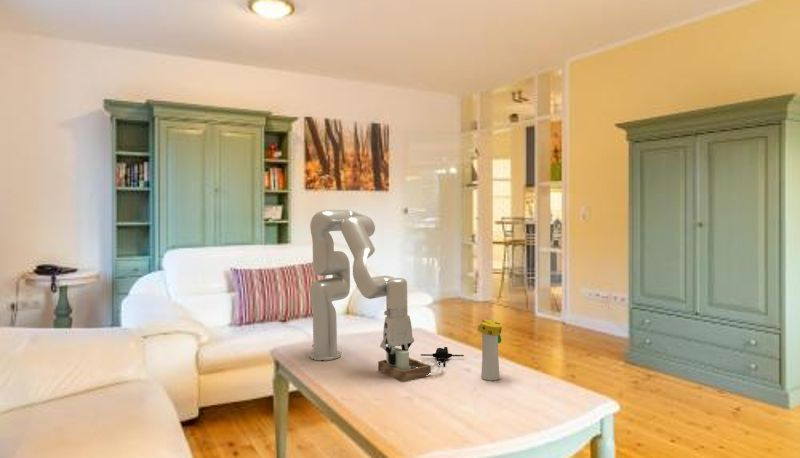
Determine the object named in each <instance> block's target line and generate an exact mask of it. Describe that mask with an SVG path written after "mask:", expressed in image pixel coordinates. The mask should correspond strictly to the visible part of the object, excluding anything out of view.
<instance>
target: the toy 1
mask: <svg viewBox="0 0 800 458" xmlns="http://www.w3.org/2000/svg"><path fill="white" fill-rule="evenodd" d="M420 356H422V357H432V358H434V359H438V363H437V365H438V364H439V365H440V366H441V362H443V363H442V366H443V367H444V368H445V367H446V360H447V359H450V358H452V357H465V354H453V353H449V349H448V347H447V346H444V347H437V348H436V351H435V353H431V354H429V353H428V354H427V353H425V354H424V353H421V354H420Z"/></svg>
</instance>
